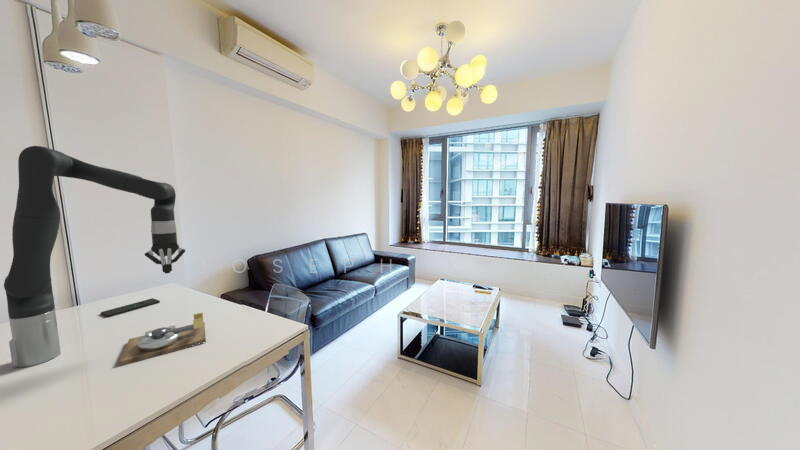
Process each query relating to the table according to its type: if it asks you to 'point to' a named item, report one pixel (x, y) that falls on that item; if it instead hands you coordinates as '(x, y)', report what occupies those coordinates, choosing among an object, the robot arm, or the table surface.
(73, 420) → the table surface
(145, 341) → the silver rotary lever
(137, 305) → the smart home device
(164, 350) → the base plate
